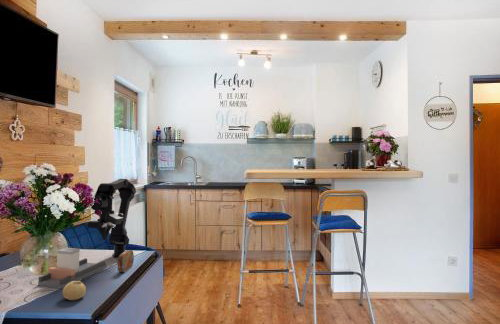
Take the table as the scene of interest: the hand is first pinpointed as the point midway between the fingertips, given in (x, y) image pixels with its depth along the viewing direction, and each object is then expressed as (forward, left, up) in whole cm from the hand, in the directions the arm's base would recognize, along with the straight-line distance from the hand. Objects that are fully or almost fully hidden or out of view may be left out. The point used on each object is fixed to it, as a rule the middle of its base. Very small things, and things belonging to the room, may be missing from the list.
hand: (104, 240), depth 173 cm
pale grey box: (+14, -16, -11) cm, 24 cm away
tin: (+10, +9, -13) cm, 19 cm away
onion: (+38, -13, -13) cm, 43 cm away
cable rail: (+11, -13, -13) cm, 21 cm away
